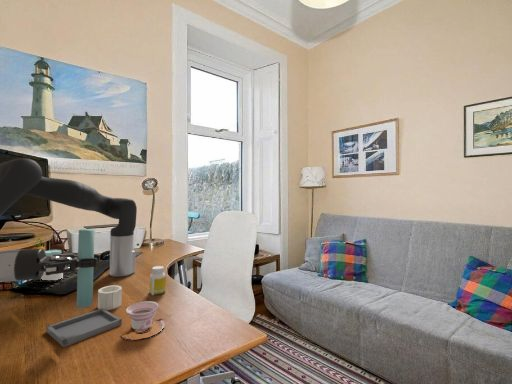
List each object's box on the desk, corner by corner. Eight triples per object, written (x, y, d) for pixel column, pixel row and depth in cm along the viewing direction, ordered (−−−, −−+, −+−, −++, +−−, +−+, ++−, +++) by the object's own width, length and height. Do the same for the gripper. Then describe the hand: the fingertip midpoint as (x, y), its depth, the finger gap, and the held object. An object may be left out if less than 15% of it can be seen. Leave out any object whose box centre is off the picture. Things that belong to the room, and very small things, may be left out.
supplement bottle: (168, 292, 102) (168, 266, 102) (158, 298, 97) (159, 270, 96) (156, 290, 104) (156, 264, 103) (146, 296, 98) (146, 268, 98)
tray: (102, 315, 83) (102, 308, 83) (121, 327, 77) (121, 319, 77) (46, 335, 72) (46, 326, 72) (63, 350, 65) (63, 341, 65)
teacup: (135, 346, 68) (136, 321, 68) (108, 332, 74) (108, 309, 74) (174, 326, 78) (174, 304, 78) (147, 315, 84) (147, 295, 84)
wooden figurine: (47, 270, 124) (47, 237, 124) (49, 266, 129) (50, 234, 129) (65, 268, 127) (66, 236, 127) (67, 265, 132) (67, 234, 132)
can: (67, 278, 114) (67, 249, 114) (52, 284, 107) (53, 253, 107) (51, 277, 115) (51, 248, 115) (36, 283, 108) (36, 252, 108)
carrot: (37, 274, 118) (37, 239, 117) (27, 273, 119) (28, 239, 118) (48, 271, 122) (48, 237, 122) (38, 270, 123) (39, 237, 123)
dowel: (88, 300, 76) (90, 228, 76) (94, 304, 74) (97, 230, 74) (74, 305, 73) (76, 229, 73) (80, 308, 71) (82, 231, 71)
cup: (114, 301, 93) (115, 284, 93) (125, 307, 89) (125, 288, 89) (94, 308, 88) (94, 289, 87) (104, 314, 84) (104, 294, 84)
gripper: (6, 256, 62) (94, 252, 68) (30, 244, 75) (102, 241, 81) (5, 290, 62) (93, 282, 68) (29, 271, 75) (101, 267, 81)
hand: (97, 260), depth 75 cm, fingers closed on dowel, 3 cm apart
